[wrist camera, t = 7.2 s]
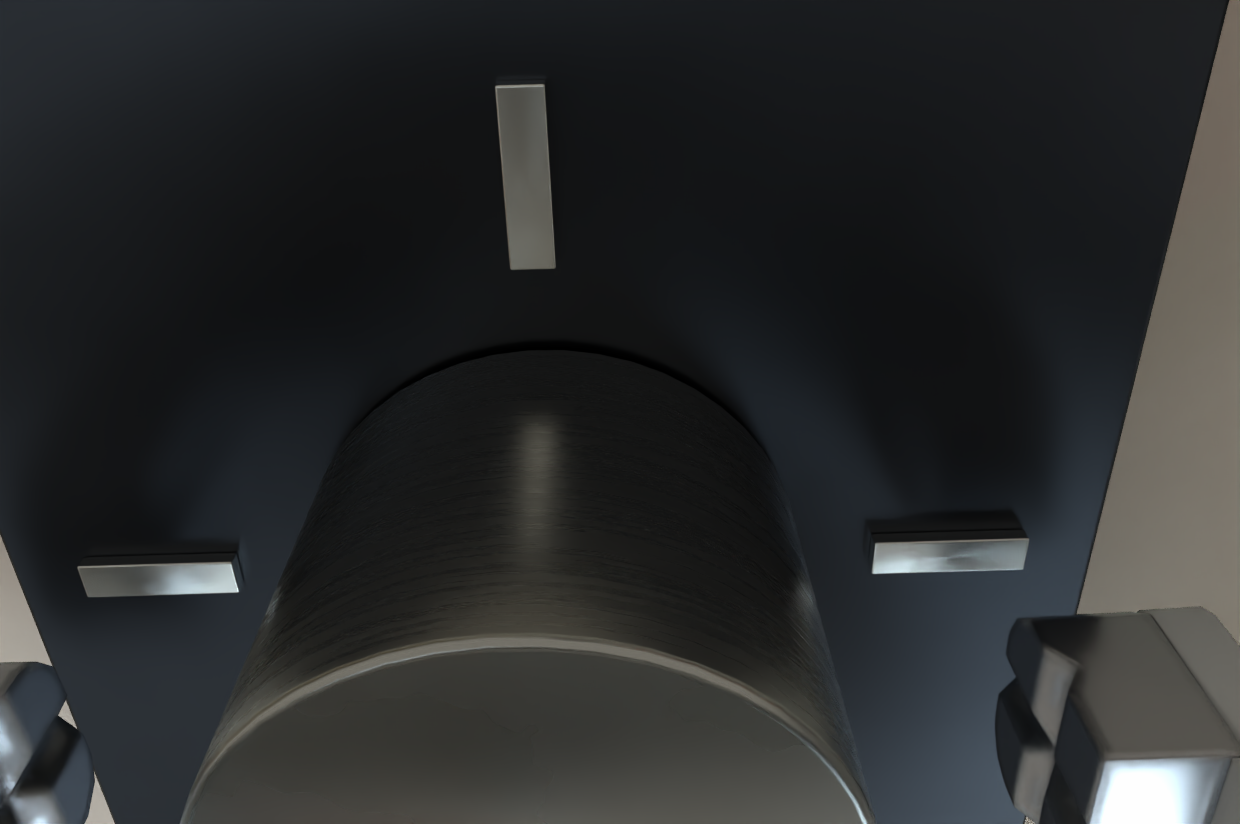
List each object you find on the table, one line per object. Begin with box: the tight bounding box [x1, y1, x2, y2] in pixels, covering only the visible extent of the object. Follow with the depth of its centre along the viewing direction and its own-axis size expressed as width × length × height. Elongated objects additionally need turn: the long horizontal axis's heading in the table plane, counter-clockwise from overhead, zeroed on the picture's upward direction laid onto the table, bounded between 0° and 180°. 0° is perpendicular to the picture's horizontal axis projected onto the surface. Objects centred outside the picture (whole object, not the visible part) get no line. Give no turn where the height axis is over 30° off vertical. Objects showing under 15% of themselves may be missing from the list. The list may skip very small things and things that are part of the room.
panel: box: [0, 0, 1229, 824], centre depth 11 cm, size 10×10×3 cm
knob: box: [180, 350, 876, 824], centre depth 8 cm, size 4×4×4 cm
